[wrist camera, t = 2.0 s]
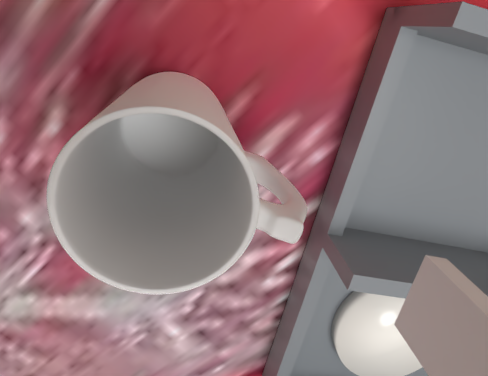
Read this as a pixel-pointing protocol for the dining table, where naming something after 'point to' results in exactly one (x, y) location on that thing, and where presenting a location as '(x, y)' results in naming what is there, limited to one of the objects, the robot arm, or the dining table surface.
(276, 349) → the rack
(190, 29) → the dining table surface
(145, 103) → the mug
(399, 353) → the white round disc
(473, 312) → the robot arm
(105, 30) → the dining table surface
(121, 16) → the dining table surface
